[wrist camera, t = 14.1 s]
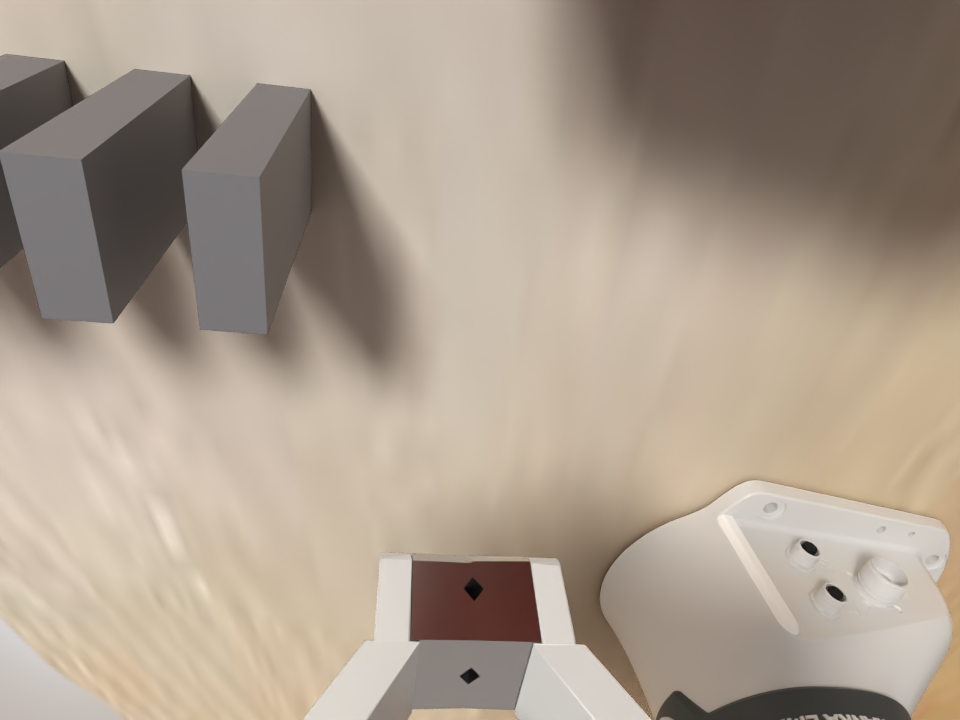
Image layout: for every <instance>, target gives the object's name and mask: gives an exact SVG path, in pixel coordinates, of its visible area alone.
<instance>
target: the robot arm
mask: <svg viewBox="0 0 960 720" xmlns="http://www.w3.org/2000/svg"><path fill="white" fill-rule="evenodd" d="M949 550H950V537H949V533H948V531H947V530H946V528H945V526H944V525H943V523H942V522H941V521H940V520H937V519H934V518H930V517H926V516H921V515H917V514H912V513H908V512H903V511H898V510H894V509H889V508H885V507H880V506H876V505H871V504H866V503H862V502H857V501H853V500H848V499H843V498H839V497H834V496H830V495H825V494H820V493H816V492H811V491H807V490H802V489H798V488H793V487H788V486H784V485H779V484H775V483H770V482H765V481H760V480H751V481H746V482H744V483H741V484H739V485H737V486H735V487H734V488H732V489H731V490H729V491H728V492H726V493H725V494H723V495H722V496H720V497H719V498H718V499H716V500H715V501H714V502H712V503H711V504H710V505H708V506H707V507H705V508H703V509H701V510H699V511H696V512H694V513H692V514H689V515H686V516H684V517H681V518H678V519H676V520H673V521H671V522H668V523H666V524H664V525H662V526H660V527H658V528H656V529H654V530H653V531H651V532H649V533H647V534H646V535H644V536H643V537H641V538H640V539H638V540H637V541H636V542H634V543H633V544H632V545H631V546H629V547H628V548H627V549H626V550H625V551H624V552H623V553H622V554H621V555H620V556H619V557H618V558H617V559H616V561H615V562H614V563H613V564H612V566H611V567H610V569H609V570H608V572H607V574H606V576H605V578H604V580H603V583H602V587H601V591H600V605H601V609H602V613H603V615H604V617H605V619H606V620H607V622H608V623H609V625H610V626H611V628H612V629H613V631H614V633H615V634H616V636H617V638H618V639H619V641H620V643H621V645H622V647H623V649H624V650H625V652H626V654H627V656H628V658H629V660H630V662H631V665H632V667H633V669H634V671H635V673H636V676H637V678H638V680H639V683H640V685H641V688H642V690H643V693H644V695H645V697H646V700H647V702H648V705H649V708H650V710H651V713H652V716H653V719H654V720H911V716H912V714H913V713H914V711H915V709H916V707H917V706H918V704H919V702H920V700H921V699H922V697H923V695H924V693H925V692H926V690H927V688H928V686H929V685H930V683H931V681H932V679H933V678H934V676H935V674H936V672H937V671H938V669H939V667H940V665H941V664H942V662H943V660H944V658H945V656H946V654H947V652H948V649H949V647H950V644H951V639H952V634H953V625H952V619H951V615H950V611H949V608H948V606H947V603H946V601H945V599H944V597H943V595H942V593H941V591H940V590H939V588H938V586H937V584H936V583H937V581H938V579H939V577H940V576H941V574H942V572H943V569H944V567H945V565H946V562H947V559H948V556H949ZM446 708H473V709H501V710H515V712H514V713H515V714H516V716H517V718H518V719H519V720H651V719H650V717H649V716H648V715H647V714H646V713H645V712H644V711H643V710H642V708H641V707H640V706H639V705H638V704H637V703H636V702H635V700H634V699H633V698H632V697H631V696H630V695H629V694H628V693H627V691H626V690H625V689H624V688H623V687H622V686H621V685H620V684H619V682H618V681H617V680H616V679H615V678H614V677H613V676H612V675H611V673H610V672H609V671H608V670H607V669H606V668H605V667H604V665H603V664H602V663H601V662H600V661H599V660H598V659H597V658H596V656H595V655H594V654H593V653H592V652H591V651H590V650H589V649H588V647H587V646H586V645H582V644H576V640H575V635H574V630H573V625H572V620H571V615H570V610H569V605H568V600H567V595H566V590H565V585H564V580H563V575H562V570H561V565H560V563H559V561H558V560H557V558H531V557H528V558H526V557H515V556H469V557H467V556H451V555H434V554H417V553H412V556H411V553H394V552H382V553H381V558H380V565H379V579H378V592H377V605H376V618H375V632H374V640H365V641H364V642H363V643H362V645H361V646H360V647H359V648H358V650H357V651H356V652H355V654H354V655H353V656H352V657H351V659H350V660H349V661H348V662H347V664H346V665H345V666H344V667H343V669H342V670H341V671H340V673H339V674H338V675H337V676H336V678H335V679H334V680H333V681H332V683H331V684H330V685H329V687H328V688H327V689H326V690H325V692H324V693H323V694H322V695H321V697H320V698H319V699H318V701H317V702H316V703H315V704H314V706H313V707H312V708H311V709H310V711H309V712H308V713H307V715H306V716H305V717H304V718H303V720H408V718H409V716H410V714H411V712H412V709H446Z"/></svg>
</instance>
